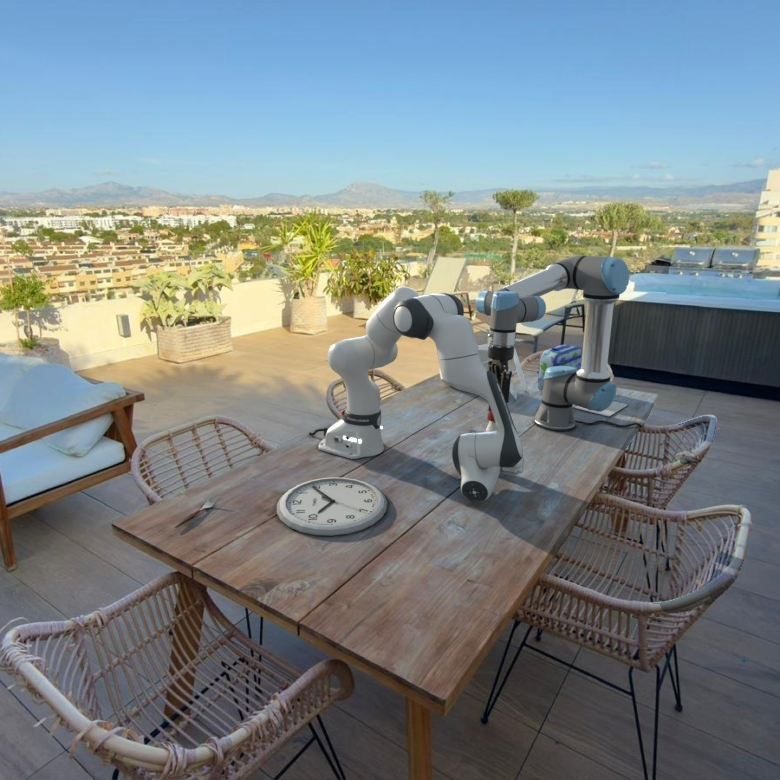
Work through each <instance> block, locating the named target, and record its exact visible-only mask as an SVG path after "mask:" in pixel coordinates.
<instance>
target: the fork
mask: <svg viewBox="0 0 780 780" xmlns="http://www.w3.org/2000/svg"><path fill="white" fill-rule="evenodd" d="M219 496H220V494H218V493H213V492H212V493H211V494H210V497H208V500H207V501H206V502H205V503H204V504H203V505H202V507H201V508H200V509H198V510H196V511H194V512H193V513H191V514H189V515H188V516H187V517H185V518H184V519H183V520H182V521H181V522H179V523H178V524H177V525H175V527H174V528H175V529H177V528H179V527H180V526H182V525H184V524H185V523H187V522H189V521H190V520H192V519H194V517H196V516H197V515H198V514H199V513H201V511H203V510H204V509H210V508H212V507H213V506H214V505H215V504H216V502H217V500H218V498H219Z"/></svg>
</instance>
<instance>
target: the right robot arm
mask: <svg viewBox="0 0 780 780" xmlns="http://www.w3.org/2000/svg"><path fill="white" fill-rule="evenodd" d="M629 283H630V270H629V267H628V265H627V263H626V262H625V261H624V259H622V258H620V257H612V256H601V255H599V256H598V255H597V256H596V255H583V254H582V255H581V254H580V255H575V256H571V257H567V258H564V259H561V260H559V261H555V262H553V263H551V264H549V265H548V266H547V267H546V268H545V270H542V271H540V272H537V273H535V274H533V275H530V276H527V277H525V278H523V279H521V280H518V281H516V282H513V283H511V284H508V285H507V286H504V287H502V288H499V289H497V290H493V291H491V290H483V291H480V292H479V293H478V294H477V296H476V299H475V310H476V311H477V312H478V313H479V314H482V315H485V316H490V319H489V320H490V323H489V333H488V334H487V337H488V344H489V346H488V357H489V358H490V359H492V361H488V371H491V372H493V373H494V374H495V376H496V377H497V379H498V381H499V384H500V386H501V389H502V392H503V394H504V397H505V400H506V403H507V404H509V402H510V381H511V378H512V376H513V371H512V370H509V371H508V368H509V361H512V360H513V357H514V348H515V344H516V337H517V324H523V323H533V322H536V321H540V320H541V319H542V318H543V317H544V316H545V314H546V312H547V304H546V302H545V300H544V299H543V298H542V296H544V295H547V294H548V293H551V292H553V291H554V292H560V291H563V290H579V291H582V298H583V300H585V301H586V309H585V321H584V330H583V331H584V332H583V343H582V360H581V368H580V369H579V370H578V371H577V368H575V367H571V366H554V367H549V368H547V369H546V371H545V375H544V378H543V379H544V382H543V390H541V391H542V394H541V402H540V405H539V406H538V407H536V413H535V417H534V424H535V425H536V426H537V427H539V428H542V429H544V430H549V431H556V432H567V431H572V430H574V429H575V428H576V423H577V424H582V425H585V426H593V425H596V424H601V423H603V424H608V425H611V426H614V427H618V428H628V427H632V426H638V427H639V428H644V426H643V424H641V423H638V422H633V423H628V424H617V423H614V422H610V421H608V420H595V421H592V422H586V421H581V420H578V419H576V418H575V417H576V416H575V413H574V407H573V406H575V407H576V406H580V407H583V408H586V409H588V410H593V411H597V412H601V411H604V410H605V409H607V408H608V407H609V406H610V404H611V403H612V401H614V400H615V398H616V397H615V396H616V394H617V384H616V383H615V382H614V381H611V379H612V378H611V375H612V374H611V372H610V371H609V370H608V363H609V354H610V344H611V333H612V325H613V314H614V305H615V303H616V302H617V301H618V300H619V299H620V296H621V295H622V294H623V293H625V292H626V290H627V289H628V288H627V287H628V286H629ZM490 410H491V408H490V405H489V404H488V409H487V412H488V411H490ZM494 423H495V420H494Z"/></svg>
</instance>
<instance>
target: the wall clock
mask: <svg viewBox="0 0 780 780" xmlns="http://www.w3.org/2000/svg"><path fill="white" fill-rule="evenodd" d="M387 509H388V500H387V498H386V496H385V494H384V493H383V492H382V491H381V490H380V489H379V488H377V487H376V486H374V485H372V484H371V483H369V482H365V481H362V480H359V479H355V478H349V477H338V476H337V477H335V476H333V477H332V476H331V477H322V478H317V479H312V480H307V481H305V482H302V483H299V484H297V485H295V486H293V487H292V488H290V489H288V490H287V491H286V492H285V493H284V494H283V495H281V496H280V498H279V499H278V502H277V503H276V515H277V517H278V518H279V520H280V521H281V522H282V523H283V524H285V525H286V526H287V527H288V528H290V529H293V530H295V531H297V532H299V533H303V534H308V535H312V536H327V537H328V536H329V537H331V536H332V537H333V536H342V535H350V534H352V533H356V532H361V531H363V530H366V529H368V528H369V527H372V526H373V525H375V524H376V523H378V522H379V521H380V520H381V519H382V518H383V517H384V516H385V514H386V512H387Z"/></svg>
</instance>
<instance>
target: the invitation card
mask: <svg viewBox="0 0 780 780" xmlns="http://www.w3.org/2000/svg"><path fill="white" fill-rule="evenodd" d="M628 406H629V404H627V403H623V402H618V401H614V400H613V401H612V403H611V404H610V406H609V407H608V408H607V409H605V410H604V411H601V412H597V411H593V410H588V409H586V408H583V407H580V406H576V405H575V406H574V407H573V409H575V410H581V411H584V412H587V413H593V414H596V415H600V416H604V417H608V418H609V417H611V416H613V415H614V414H616V413H617V412H619V411H621V410H623V409H624V408H626V407H628Z"/></svg>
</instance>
